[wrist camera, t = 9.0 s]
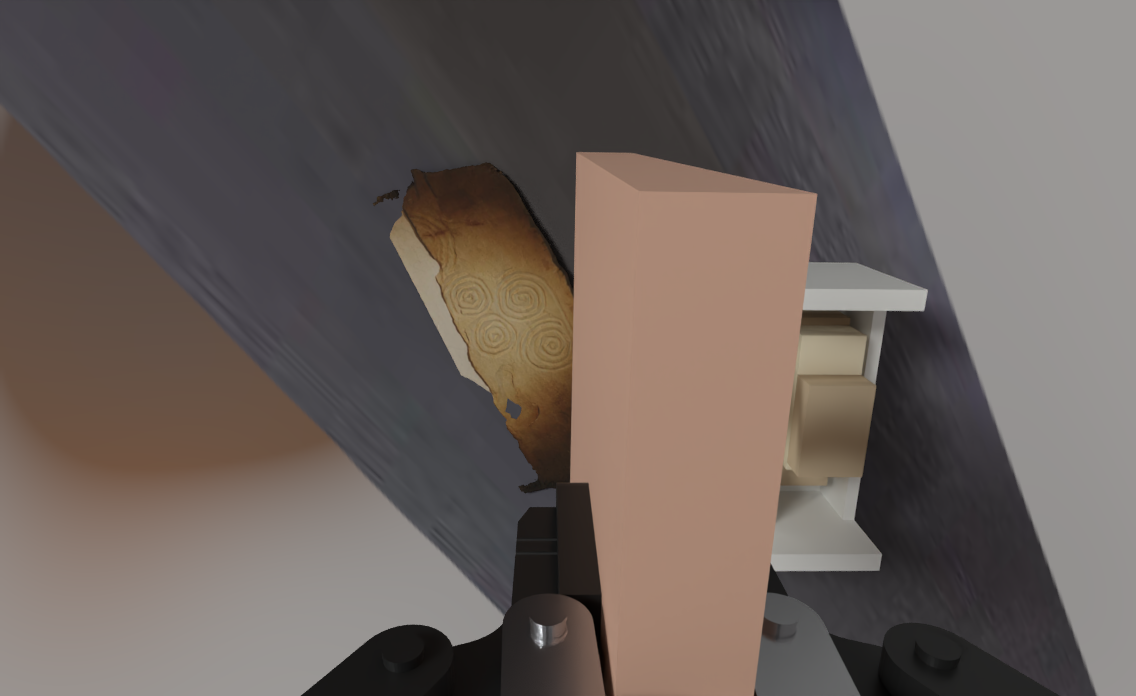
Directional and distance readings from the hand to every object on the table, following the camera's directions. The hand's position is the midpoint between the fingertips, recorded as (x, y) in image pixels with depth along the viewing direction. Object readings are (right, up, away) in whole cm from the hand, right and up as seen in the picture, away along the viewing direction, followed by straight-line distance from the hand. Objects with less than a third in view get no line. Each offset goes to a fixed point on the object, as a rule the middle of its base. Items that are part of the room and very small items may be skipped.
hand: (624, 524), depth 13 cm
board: (0, +3, +8) cm, 8 cm away
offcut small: (+15, -1, +29) cm, 33 cm away
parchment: (-5, +5, +33) cm, 34 cm away
